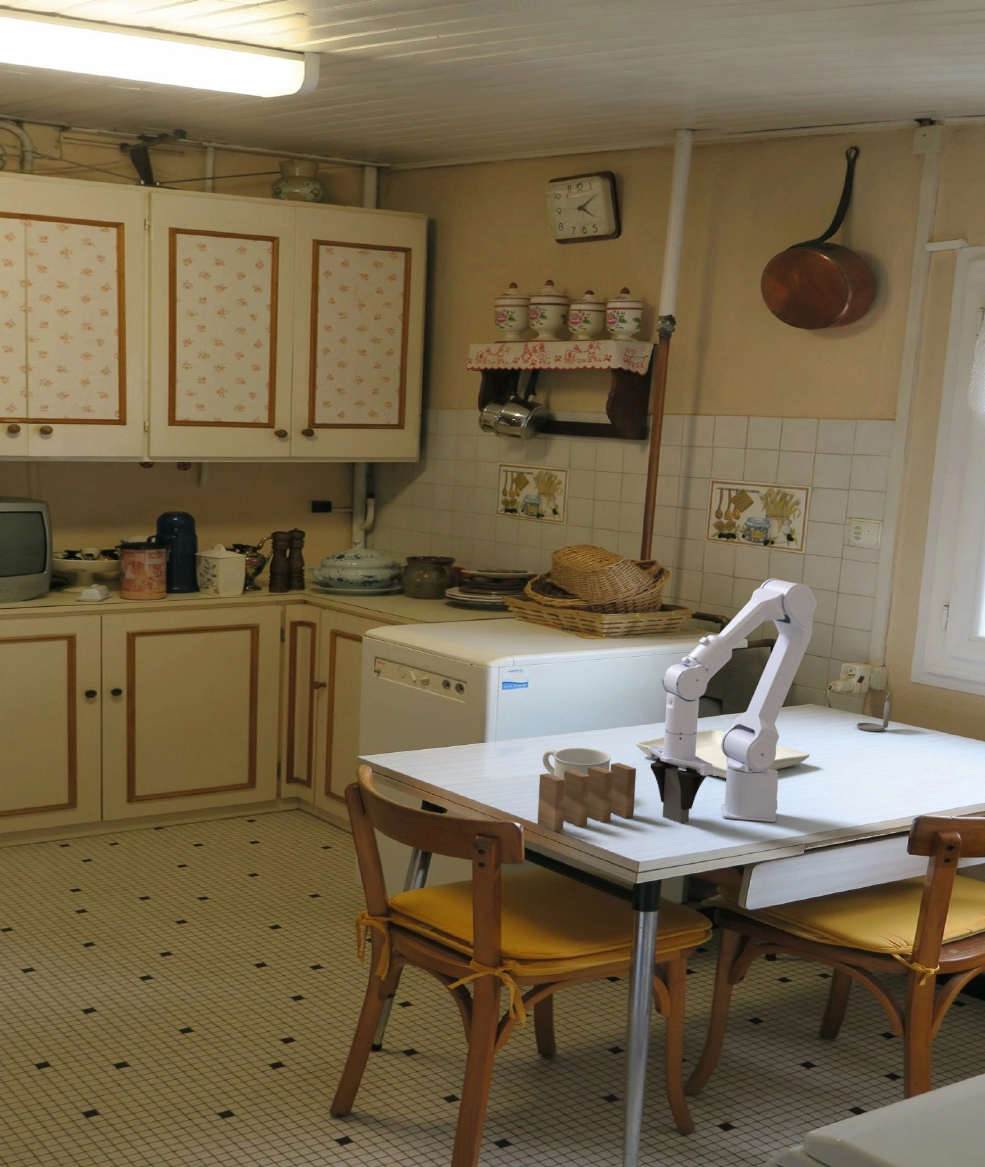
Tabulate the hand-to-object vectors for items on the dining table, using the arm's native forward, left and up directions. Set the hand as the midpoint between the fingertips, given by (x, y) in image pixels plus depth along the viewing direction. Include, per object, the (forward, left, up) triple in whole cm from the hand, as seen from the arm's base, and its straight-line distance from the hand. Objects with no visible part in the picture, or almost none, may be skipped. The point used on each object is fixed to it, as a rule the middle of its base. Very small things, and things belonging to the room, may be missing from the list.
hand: (676, 805), depth 229 cm
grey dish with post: (-49, -94, -3) cm, 106 cm away
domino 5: (0, 0, -3) cm, 3 cm away
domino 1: (+22, +12, -3) cm, 25 cm away
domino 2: (+18, +8, -3) cm, 20 cm away
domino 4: (+10, 0, -3) cm, 10 cm away
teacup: (+19, -12, -3) cm, 23 cm away
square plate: (-10, -47, -3) cm, 48 cm away
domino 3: (+14, +4, -3) cm, 15 cm away
